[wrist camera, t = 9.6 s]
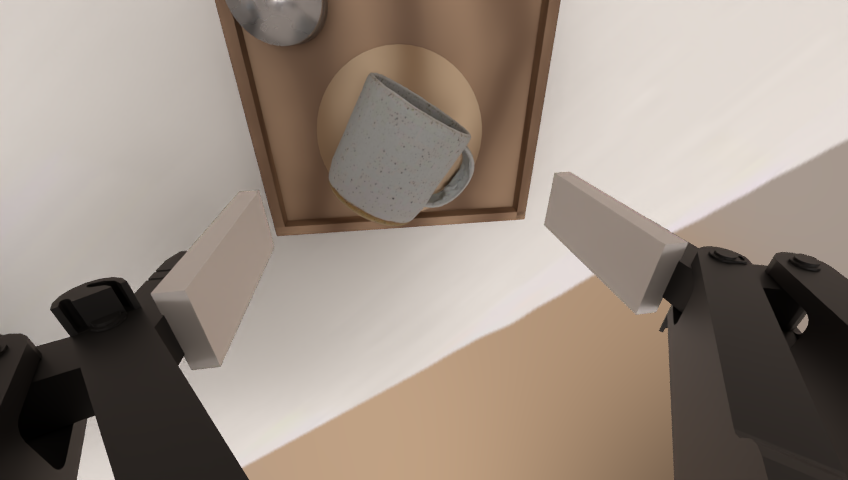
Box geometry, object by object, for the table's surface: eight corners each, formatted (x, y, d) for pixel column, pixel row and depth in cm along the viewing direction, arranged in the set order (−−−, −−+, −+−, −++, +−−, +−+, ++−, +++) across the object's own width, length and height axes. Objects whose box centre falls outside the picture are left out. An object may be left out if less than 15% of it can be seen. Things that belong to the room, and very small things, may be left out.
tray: (282, 225, 30) (276, 236, 28) (208, -72, 20) (192, -84, 18) (516, 210, 32) (524, 219, 31) (556, -61, 22) (572, -69, 20)
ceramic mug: (326, 166, 26) (314, 207, 20) (369, 65, 23) (371, 74, 17) (438, 217, 30) (459, 265, 24) (489, 136, 27) (528, 165, 21)
